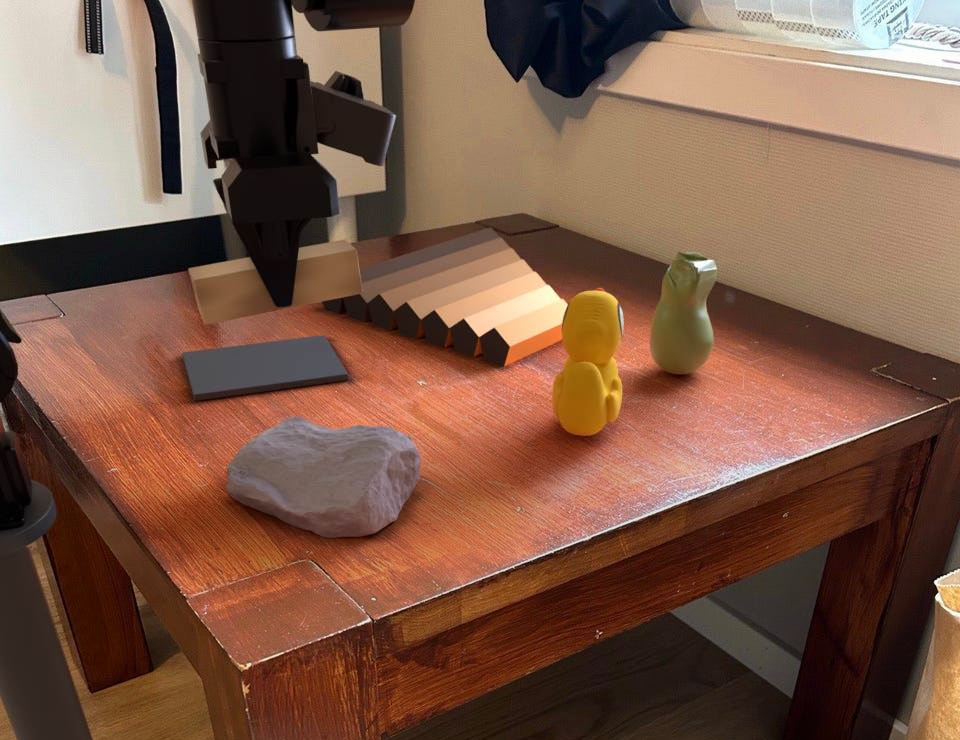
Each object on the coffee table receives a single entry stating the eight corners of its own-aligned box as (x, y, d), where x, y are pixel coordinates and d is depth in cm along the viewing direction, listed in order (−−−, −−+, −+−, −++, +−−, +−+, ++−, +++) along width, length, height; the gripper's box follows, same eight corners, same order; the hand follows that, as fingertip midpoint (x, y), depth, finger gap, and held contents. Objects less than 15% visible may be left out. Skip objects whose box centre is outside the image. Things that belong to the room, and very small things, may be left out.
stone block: (378, 568, 63) (432, 473, 69) (363, 511, 59) (422, 416, 65) (219, 542, 66) (284, 454, 72) (197, 488, 63) (267, 399, 69)
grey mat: (194, 401, 80) (193, 394, 80) (183, 358, 88) (182, 352, 87) (348, 380, 83) (348, 373, 83) (324, 340, 91) (324, 334, 91)
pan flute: (479, 254, 114) (319, 308, 99) (479, 224, 112) (316, 275, 97) (661, 299, 101) (509, 369, 86) (664, 265, 99) (510, 332, 84)
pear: (665, 355, 88) (678, 241, 82) (719, 368, 85) (736, 251, 79) (635, 375, 84) (646, 256, 78) (692, 389, 82) (707, 268, 76)
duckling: (560, 392, 81) (566, 270, 75) (625, 396, 80) (635, 274, 74) (541, 452, 72) (545, 319, 66) (613, 458, 71) (624, 324, 65)
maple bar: (205, 325, 65) (193, 280, 63) (199, 312, 67) (187, 268, 65) (363, 293, 67) (356, 249, 66) (352, 281, 70) (345, 238, 68)
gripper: (418, 48, 53) (428, 330, 62) (348, 18, 67) (365, 251, 76) (208, 57, 50) (252, 351, 59) (182, 24, 64) (221, 265, 73)
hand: (280, 298), depth 67 cm, fingers closed on maple bar, 3 cm apart
